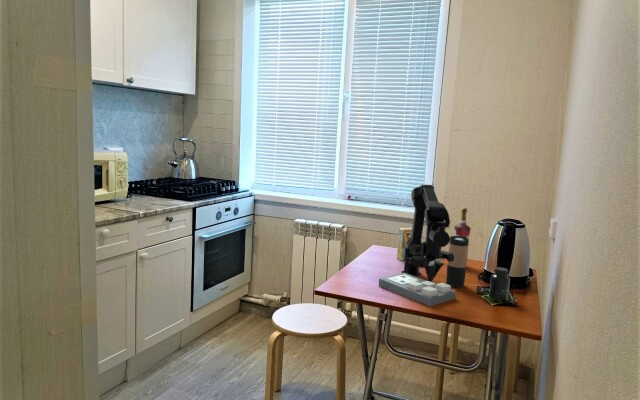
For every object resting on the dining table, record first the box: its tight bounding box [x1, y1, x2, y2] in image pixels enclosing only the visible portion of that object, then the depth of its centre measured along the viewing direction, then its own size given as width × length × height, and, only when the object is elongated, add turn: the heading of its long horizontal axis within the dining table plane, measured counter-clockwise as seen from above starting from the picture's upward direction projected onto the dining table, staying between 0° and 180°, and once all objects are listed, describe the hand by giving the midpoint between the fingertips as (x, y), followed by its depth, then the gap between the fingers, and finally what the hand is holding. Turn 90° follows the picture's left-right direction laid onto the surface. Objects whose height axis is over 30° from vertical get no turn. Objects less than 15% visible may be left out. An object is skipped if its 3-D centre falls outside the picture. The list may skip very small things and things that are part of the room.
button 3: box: [421, 286, 437, 297], centre depth 173 cm, size 4×4×3 cm
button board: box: [378, 272, 457, 307], centre depth 183 cm, size 15×26×3 cm, turn 38°
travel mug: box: [445, 235, 470, 289], centre depth 192 cm, size 8×8×20 cm
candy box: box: [396, 227, 412, 261], centre depth 229 cm, size 9×4×15 cm, turn 113°
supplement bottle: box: [488, 266, 511, 301], centre depth 179 cm, size 7×7×12 cm
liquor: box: [453, 207, 471, 240], centre depth 219 cm, size 7×7×28 cm
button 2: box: [421, 280, 437, 287], centre depth 183 cm, size 4×4×3 cm
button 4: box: [435, 282, 452, 293], centre depth 178 cm, size 4×4×3 cm
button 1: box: [407, 281, 423, 291], centre depth 178 cm, size 4×4×3 cm
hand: (430, 281), depth 172 cm, fingers closed
